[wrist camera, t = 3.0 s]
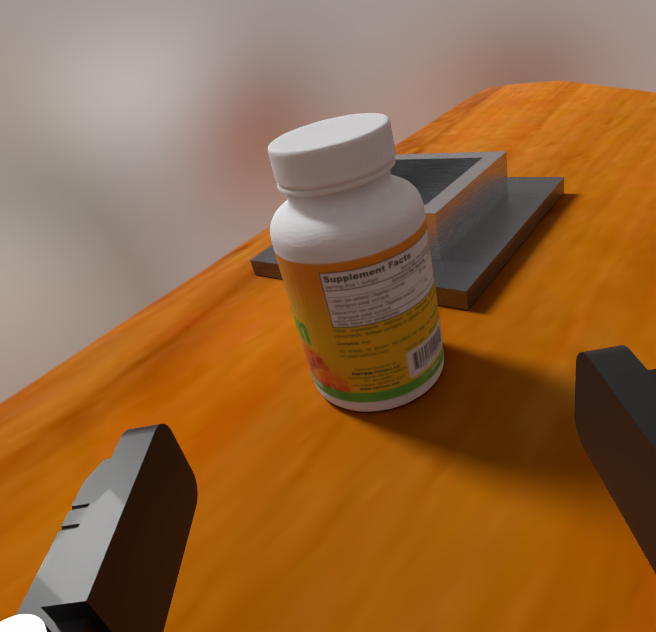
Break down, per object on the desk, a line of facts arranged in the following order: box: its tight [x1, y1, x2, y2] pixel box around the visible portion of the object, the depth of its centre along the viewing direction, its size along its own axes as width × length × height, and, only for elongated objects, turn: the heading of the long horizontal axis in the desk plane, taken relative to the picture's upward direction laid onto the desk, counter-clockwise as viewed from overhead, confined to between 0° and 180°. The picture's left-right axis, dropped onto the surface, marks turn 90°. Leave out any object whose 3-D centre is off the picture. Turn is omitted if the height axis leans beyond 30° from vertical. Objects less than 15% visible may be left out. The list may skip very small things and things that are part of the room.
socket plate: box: [250, 151, 564, 310], centre depth 31 cm, size 14×14×4 cm
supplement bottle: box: [268, 113, 444, 412], centre depth 19 cm, size 5×5×10 cm
